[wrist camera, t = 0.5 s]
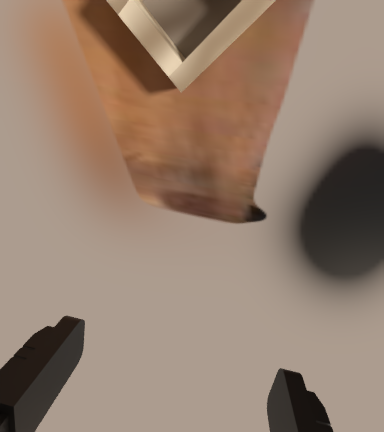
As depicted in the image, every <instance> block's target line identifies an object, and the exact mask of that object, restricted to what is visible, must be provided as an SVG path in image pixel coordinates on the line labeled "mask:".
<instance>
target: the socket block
mask: <svg viewBox="0 0 384 432" xmlns="http://www.w3.org/2000/svg"><path fill="white" fill-rule="evenodd" d="M106 1H107V2H108V3H109V4H110V6H111V7H112V8H113V9H114V11H115V12H116V13H117V14H118V15H119V17H120V18H121V19H122V20H123V22H124V23H125V24H126V25H127V27H128V28H129V29H130V30H131V32H132V33H133V34H134V35H135V36H136V38H137V39H138V40H139V41H140V43H141V44H142V45H143V46H144V48H145V49H146V50H147V51H148V52H149V54H150V55H151V56H152V57H153V59H154V60H155V61H156V62H157V64H158V65H159V66H160V67H161V68H162V70H163V71H164V72H165V73H166V75H167V76H168V77H169V78H170V80H171V81H172V82H173V83H174V84H175V86H176V87H177V88H178V89H179V91H180V92H182V91H183V90H185V89H186V88H187V87H188V86H189V85H190V84H191V83H192V82H193V81H194V80H195V79H196V78H197V77H198V76H199V75H200V74H201V73H202V72H203V71H204V70H205V69H206V68H207V67H208V66H209V65H210V64H211V63H212V62H213V61H214V60H215V59H216V58H217V57H218V56H219V55H220V54H221V53H222V52H223V51H224V50H225V49H226V48H227V47H228V46H230V45H231V44H232V43H233V42H234V41H235V40H236V39H237V38H238V37H239V36H240V35H241V34H242V33H243V32H244V31H245V30H246V29H247V28H248V27H249V26H250V25H251V24H252V23H253V22H254V21H255V20H256V19H257V18H258V17H259V16H260V15H261V14H262V13H263V12H264V11H265V10H266V9H267V8H268V7H269V6H270V5H271V4H272V3H273V2H274V1H276V0H106Z"/></svg>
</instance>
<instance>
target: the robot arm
mask: <svg viewBox="0 0 384 432" xmlns="http://www.w3.org/2000/svg"><path fill="white" fill-rule="evenodd" d="M84 328H85V321H84V320H82V319H78V318H74V317H70V316H64V317H63V318H62V319H61V320H60V322H58V324H57V325H56V326H55V327H50V326H47V327H45V328H43V329H42V330H40V331H38V332H37V333H35V334H34V335H33V336H32V337H31V338H30V339H29V340H28V341H27V342H26V343H25V344H24V345H23V347H22V348H20V349H19V350H18V351H17V352H16V353H15V354H14V357H12V358H11V359H10V360H9V361H8V362H7V363H6V364H5V365H4V366H3V367H2V368H1V369H0V432H35V430H36V429H37V427H38V425H39V424H40V422H41V421H42V419H43V418H44V416H45V415H46V413H47V411H48V409H49V408H50V407H51V405H52V404H53V402H54V400H55V399H56V397H57V396H58V394H59V393H60V391H61V389H62V388H63V386H64V385H65V383H66V382H67V380H68V378H69V377H70V375H71V374H72V372H73V371H74V369H75V367H76V366H77V364H78V362H79V360H80V358H81V355H82V352H83V346H84V345H83V344H84ZM267 414H268V421H269V427H270V432H333V429H332V427H331V426H330V421H329V418H328V415H327V413H326V410H325V407H324V406H323V404H322V403H321V402H320V401H319V399H318V397H317V396H316V394H315V393H314V392H310V391H307V390H306V387H305V384H304V380H303V377H302V375H301V374H300V373H297V372H293V371H289V370H285V369H281V368H280V369H279V370H278V372H277V375H276V378H275V380H274V383H273V385H272V388H271V390H270V393H269V396H268V402H267Z"/></svg>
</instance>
